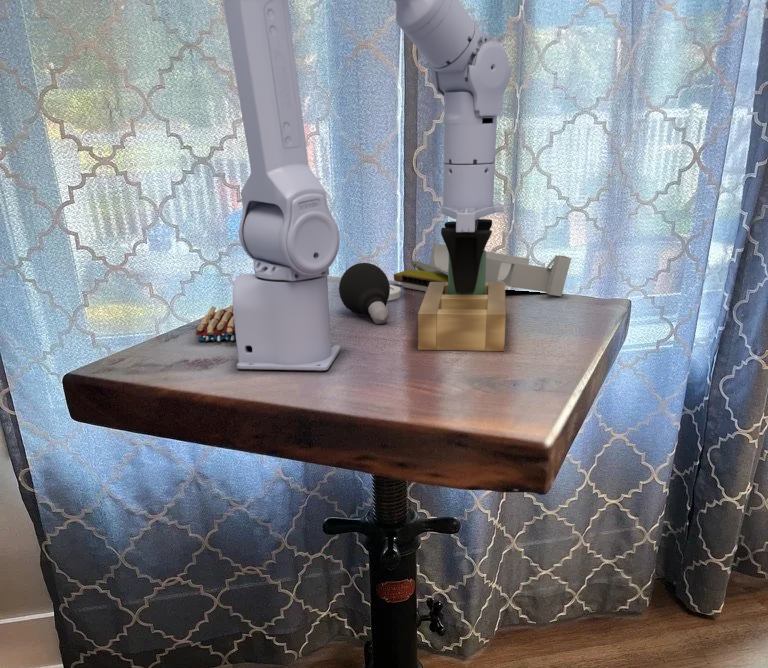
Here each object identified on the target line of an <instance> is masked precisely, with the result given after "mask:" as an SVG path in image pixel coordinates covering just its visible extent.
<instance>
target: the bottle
mask: <svg viewBox="0 0 768 668" xmlns="http://www.w3.org/2000/svg"><path fill="white" fill-rule="evenodd" d="M477 226H478V220H475V228H476V230H477ZM486 251H487V250H484V251H483V254H482V258H481V262H480V267H479V272H478V278H477V283H476V287H475V290H474V293H457V292H456V290H455V285H454V280H453V273H452V266H451V260H450V256H449V262H448V295H485V278H486Z"/></svg>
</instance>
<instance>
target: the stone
mask: <svg viewBox="0 0 768 668" xmlns="http://www.w3.org/2000/svg"><path fill="white" fill-rule="evenodd" d="M411 266H412V267H414V268H415V269H416V270H422V271H428V272H434V273H440V274H445V273H443V272H441V271H439V270H437V269H436V268H434V267H432V266H430V265H429V263H428V264H427V263H425V262H422V261H419V260H412V261H411ZM446 275H447V274H446Z"/></svg>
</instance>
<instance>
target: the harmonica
mask: <svg viewBox="0 0 768 668" xmlns="http://www.w3.org/2000/svg"><path fill="white" fill-rule="evenodd" d="M393 281H394V282H397V283H401V284H402V287H403V288H406V289H410V290H415V291H420V292H425V293H426V291H427V288H428V286H429V283H430V282H448V275H446V274H440V273H434V272H428V271H422V270H418V269H413V270H412V269H406V270H403V271H400V272H396V273H393Z"/></svg>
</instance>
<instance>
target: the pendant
mask: <svg viewBox="0 0 768 668" xmlns="http://www.w3.org/2000/svg"><path fill="white" fill-rule="evenodd" d="M389 285H390V294H389V298H388V300H387V302H389V301H395V300H397V299H399V298H401V296H402V295H401V293H402V292H401V291H402V290H401V287H399V286H397V285H393V284H389Z"/></svg>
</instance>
